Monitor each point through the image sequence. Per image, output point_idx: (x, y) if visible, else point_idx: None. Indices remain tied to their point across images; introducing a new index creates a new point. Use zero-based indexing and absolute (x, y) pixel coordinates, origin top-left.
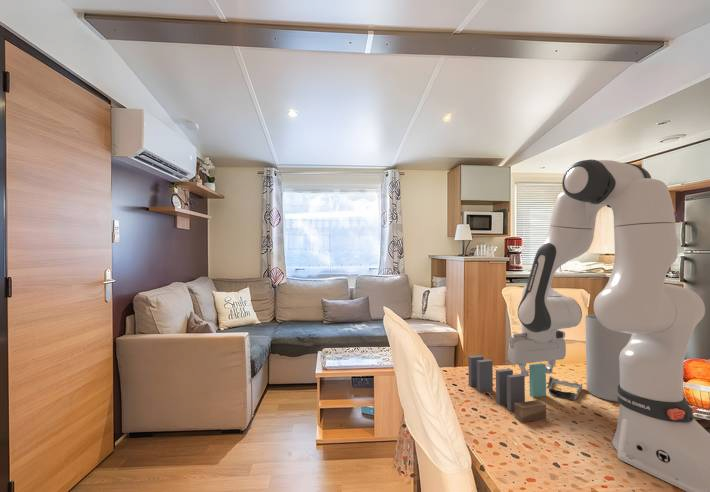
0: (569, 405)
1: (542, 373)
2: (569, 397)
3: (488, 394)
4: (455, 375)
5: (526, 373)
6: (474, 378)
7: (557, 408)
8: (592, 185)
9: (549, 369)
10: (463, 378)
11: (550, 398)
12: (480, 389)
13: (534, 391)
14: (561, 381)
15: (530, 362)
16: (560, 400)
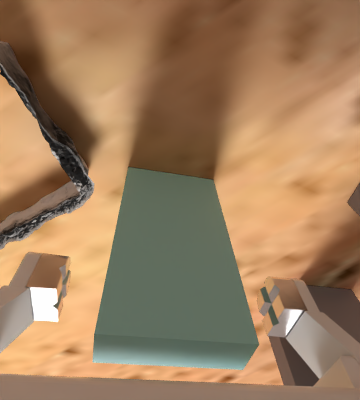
0: (119, 3)
1: (145, 266)
2: (23, 75)
3: (348, 268)
4: (272, 380)
5: (299, 296)
6: None
7: (241, 16)
8: None
9: (51, 283)
10: (274, 363)
11: (139, 133)
12: (355, 298)
13: (211, 196)
14: None
15: (338, 390)
16: (106, 88)
